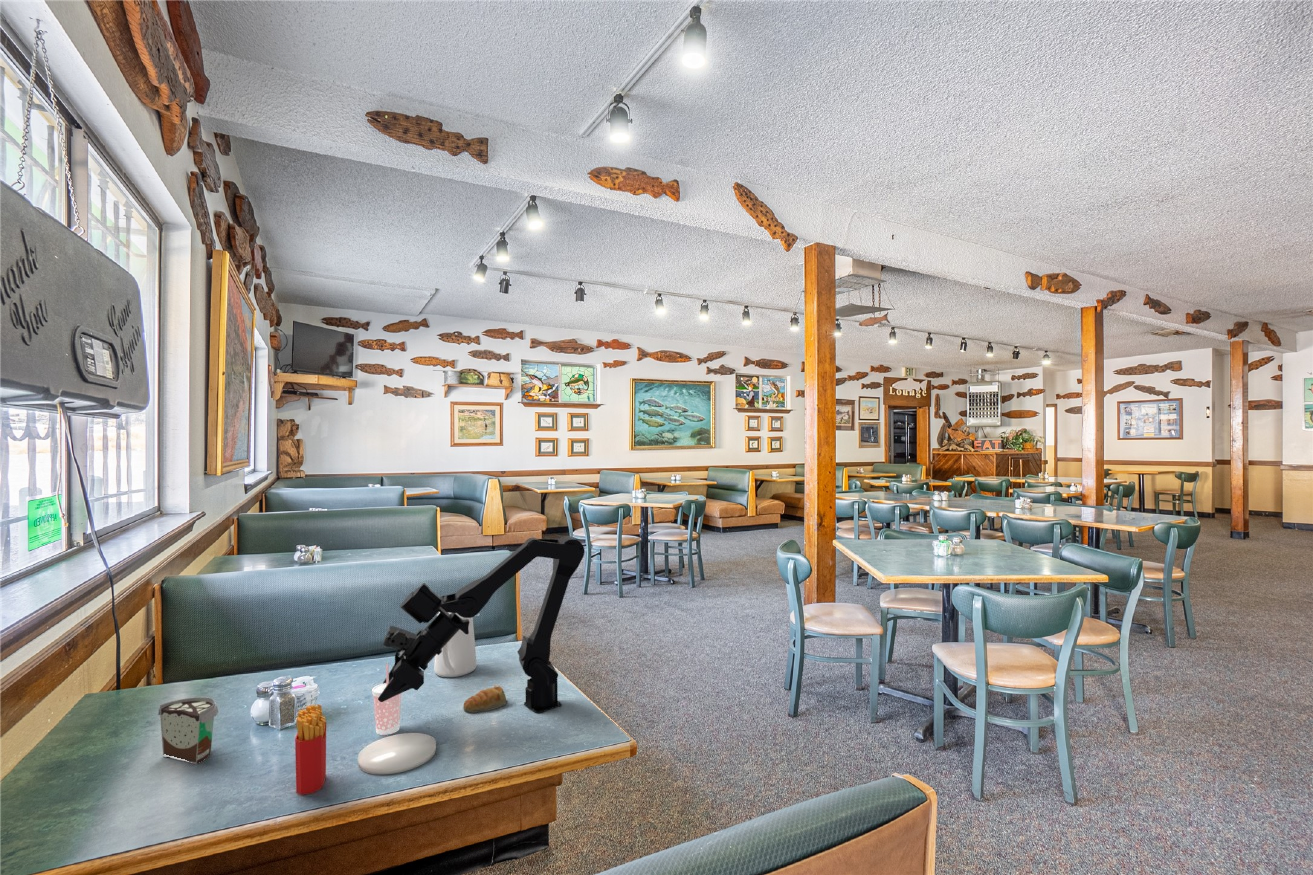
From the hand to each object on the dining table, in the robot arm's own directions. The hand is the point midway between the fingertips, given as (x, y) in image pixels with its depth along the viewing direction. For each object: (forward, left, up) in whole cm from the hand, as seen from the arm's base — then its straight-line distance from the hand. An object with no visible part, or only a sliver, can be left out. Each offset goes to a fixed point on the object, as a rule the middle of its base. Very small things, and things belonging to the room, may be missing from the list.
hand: (380, 695), depth 132 cm
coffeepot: (-26, -25, -8) cm, 37 cm away
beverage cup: (-1, 0, -8) cm, 8 cm away
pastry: (-23, +3, -8) cm, 24 cm away
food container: (+31, -15, -8) cm, 35 cm away
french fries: (+16, +13, -8) cm, 22 cm away
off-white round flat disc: (+1, +13, -8) cm, 15 cm away
